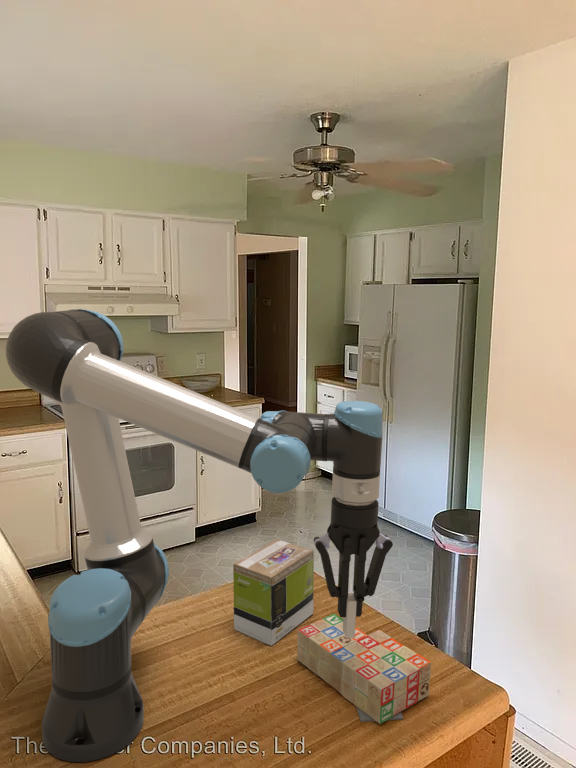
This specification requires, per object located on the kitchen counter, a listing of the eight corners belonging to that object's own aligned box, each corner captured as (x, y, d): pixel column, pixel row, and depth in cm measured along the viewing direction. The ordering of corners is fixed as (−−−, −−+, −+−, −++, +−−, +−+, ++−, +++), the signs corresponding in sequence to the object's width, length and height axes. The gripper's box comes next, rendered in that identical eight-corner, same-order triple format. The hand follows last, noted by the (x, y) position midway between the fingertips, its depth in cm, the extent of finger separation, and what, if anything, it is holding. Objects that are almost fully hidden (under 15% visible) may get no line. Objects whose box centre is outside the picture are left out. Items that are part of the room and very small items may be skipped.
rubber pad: (360, 722, 96) (360, 720, 96) (345, 674, 108) (345, 672, 108) (403, 719, 97) (403, 717, 97) (383, 672, 109) (383, 670, 109)
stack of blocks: (296, 628, 111) (345, 608, 118) (295, 659, 111) (344, 637, 119) (382, 689, 94) (432, 661, 102) (380, 725, 95) (430, 695, 102)
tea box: (276, 600, 133) (277, 536, 131) (314, 615, 127) (316, 549, 125) (231, 630, 121) (232, 561, 119) (271, 648, 115) (272, 576, 113)
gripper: (318, 507, 92) (313, 648, 96) (401, 506, 93) (393, 645, 97) (311, 490, 99) (306, 622, 103) (388, 489, 101) (380, 619, 105)
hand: (348, 633), depth 100 cm, fingers closed
